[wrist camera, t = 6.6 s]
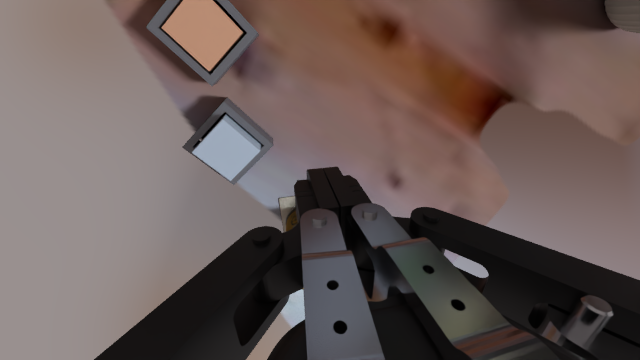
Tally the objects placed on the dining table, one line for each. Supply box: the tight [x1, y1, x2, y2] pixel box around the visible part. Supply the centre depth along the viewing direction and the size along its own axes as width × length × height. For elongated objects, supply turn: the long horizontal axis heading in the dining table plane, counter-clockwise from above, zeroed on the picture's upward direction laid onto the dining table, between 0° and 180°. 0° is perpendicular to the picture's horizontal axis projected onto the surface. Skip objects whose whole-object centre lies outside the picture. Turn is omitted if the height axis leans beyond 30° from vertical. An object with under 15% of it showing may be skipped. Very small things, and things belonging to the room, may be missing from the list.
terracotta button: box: [162, 0, 244, 71], centre depth 27 cm, size 5×5×3 cm
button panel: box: [146, 0, 273, 184], centre depth 27 cm, size 11×36×3 cm, turn 3°
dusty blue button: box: [192, 113, 261, 181], centre depth 31 cm, size 5×5×3 cm
